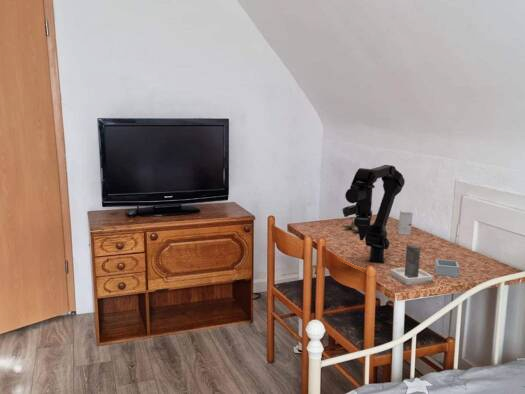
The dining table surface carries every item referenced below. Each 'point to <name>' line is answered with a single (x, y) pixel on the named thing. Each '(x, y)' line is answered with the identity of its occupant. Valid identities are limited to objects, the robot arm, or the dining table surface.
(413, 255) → the dark grey pillar
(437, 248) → the dining table surface
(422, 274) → the tray
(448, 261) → the square frame
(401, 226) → the skincare box
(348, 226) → the ceramic sculpture
